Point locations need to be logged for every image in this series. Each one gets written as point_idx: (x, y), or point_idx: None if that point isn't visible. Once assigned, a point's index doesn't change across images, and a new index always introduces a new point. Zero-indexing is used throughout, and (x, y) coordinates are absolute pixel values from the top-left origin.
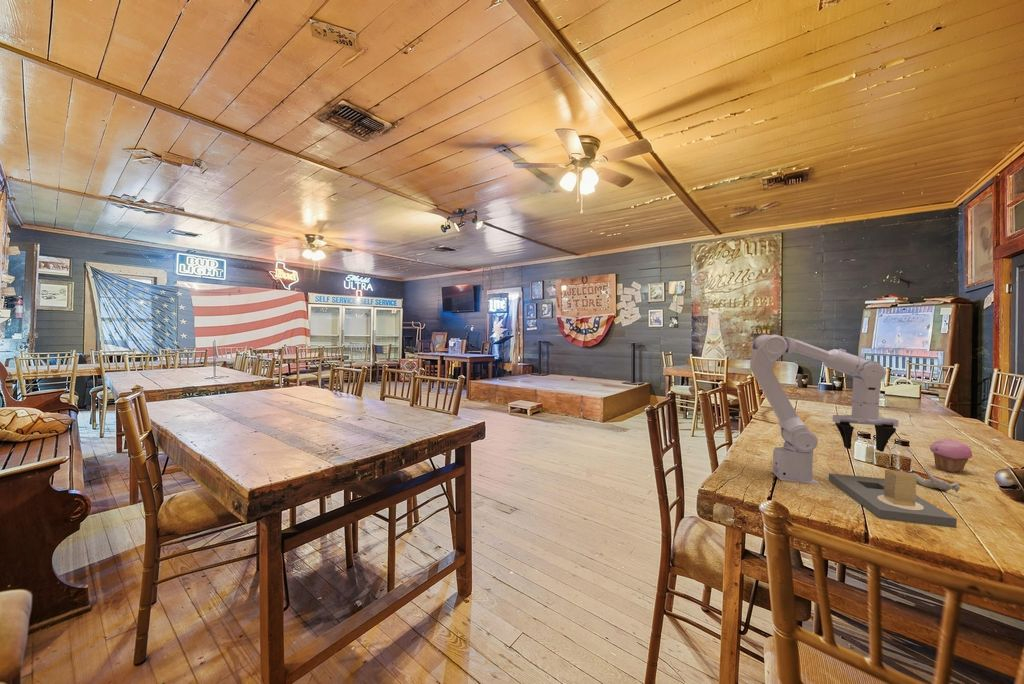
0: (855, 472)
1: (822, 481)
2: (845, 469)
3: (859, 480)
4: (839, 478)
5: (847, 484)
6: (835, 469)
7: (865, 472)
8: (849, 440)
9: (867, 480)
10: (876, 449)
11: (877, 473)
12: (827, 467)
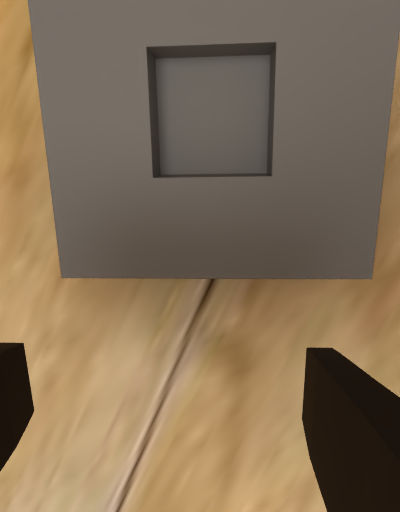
0: (135, 446)
1: (386, 259)
2: (163, 476)
3: (247, 191)
4: (359, 192)
5: (375, 72)
6: (213, 465)
7: (87, 458)
8: (377, 395)
9: (195, 209)
10: (33, 408)
11: (38, 458)
12: (239, 484)
